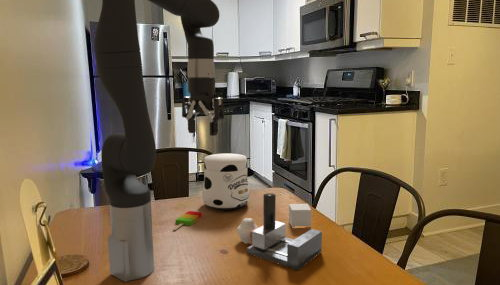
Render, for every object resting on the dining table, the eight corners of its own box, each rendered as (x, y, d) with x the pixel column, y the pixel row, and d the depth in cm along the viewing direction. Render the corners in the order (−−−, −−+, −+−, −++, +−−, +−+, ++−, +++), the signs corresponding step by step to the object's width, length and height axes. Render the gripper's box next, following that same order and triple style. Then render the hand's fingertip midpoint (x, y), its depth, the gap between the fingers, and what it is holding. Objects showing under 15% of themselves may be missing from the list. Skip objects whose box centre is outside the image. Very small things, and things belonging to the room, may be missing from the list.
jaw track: (297, 270, 91) (298, 247, 90) (247, 253, 101) (247, 231, 100) (321, 253, 101) (321, 231, 100) (273, 238, 110) (273, 218, 109)
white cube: (307, 221, 124) (307, 203, 123) (310, 228, 118) (311, 209, 117) (288, 221, 124) (288, 203, 123) (291, 228, 118) (291, 210, 117)
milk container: (249, 213, 131) (249, 162, 128) (199, 213, 131) (197, 162, 128) (250, 198, 148) (250, 152, 145) (205, 198, 148) (204, 152, 145)
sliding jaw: (264, 249, 98) (264, 201, 96) (250, 245, 101) (250, 197, 99) (285, 237, 106) (286, 192, 104) (272, 233, 109) (272, 189, 107)
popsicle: (203, 217, 129) (203, 211, 129) (181, 234, 115) (181, 228, 115) (188, 215, 131) (188, 210, 130) (165, 231, 117) (165, 226, 116)
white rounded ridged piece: (246, 235, 113) (246, 212, 111) (263, 240, 109) (263, 217, 108) (232, 242, 108) (232, 218, 107) (249, 248, 104) (249, 223, 103)
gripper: (173, 76, 107) (175, 133, 110) (210, 75, 98) (211, 137, 101) (193, 76, 113) (194, 130, 116) (229, 76, 104) (230, 134, 107)
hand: (202, 134), depth 108 cm, fingers open, 8 cm apart
